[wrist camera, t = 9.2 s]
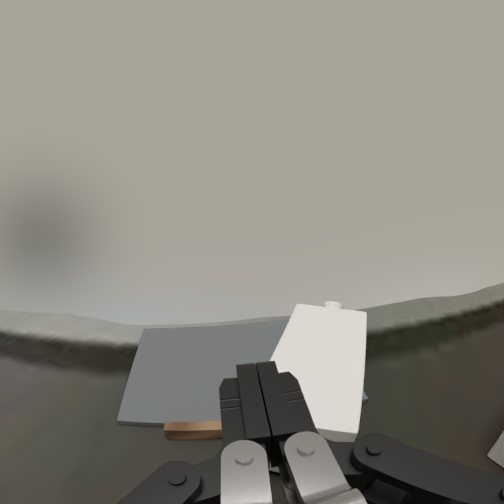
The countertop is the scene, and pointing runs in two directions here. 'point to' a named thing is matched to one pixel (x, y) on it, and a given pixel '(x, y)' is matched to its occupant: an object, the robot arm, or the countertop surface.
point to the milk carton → (327, 365)
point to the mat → (191, 370)
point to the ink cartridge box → (498, 451)
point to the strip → (193, 430)
